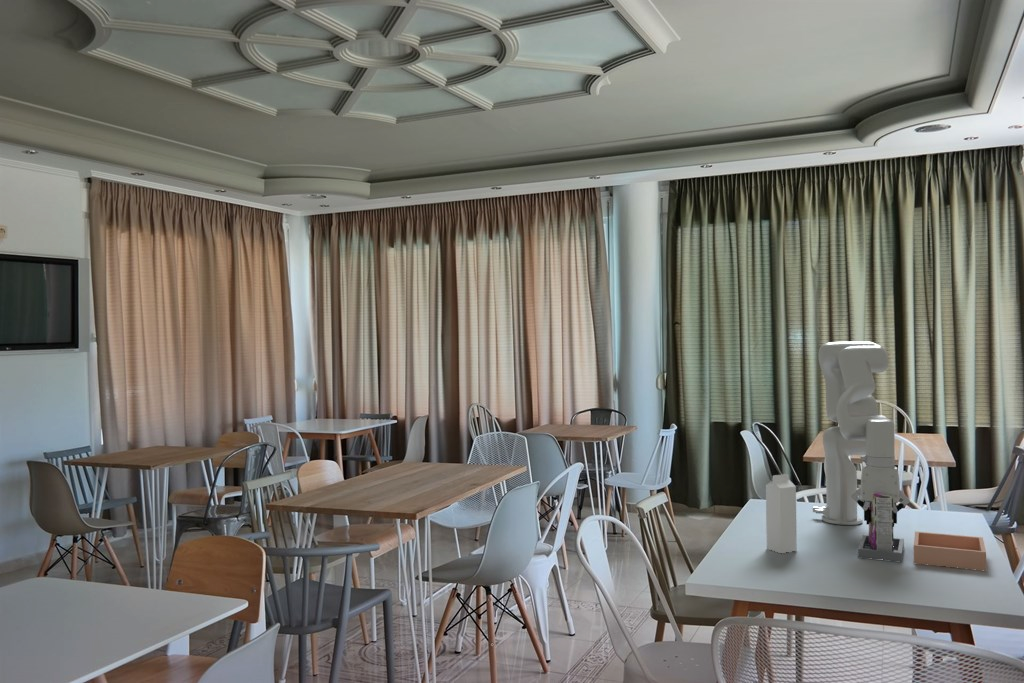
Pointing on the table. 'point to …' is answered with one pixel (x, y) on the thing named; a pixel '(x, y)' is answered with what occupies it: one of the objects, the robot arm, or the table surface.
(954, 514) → the table surface
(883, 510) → the candy bar box
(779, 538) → the milk
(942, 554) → the salmon hollow open box
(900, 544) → the tray
